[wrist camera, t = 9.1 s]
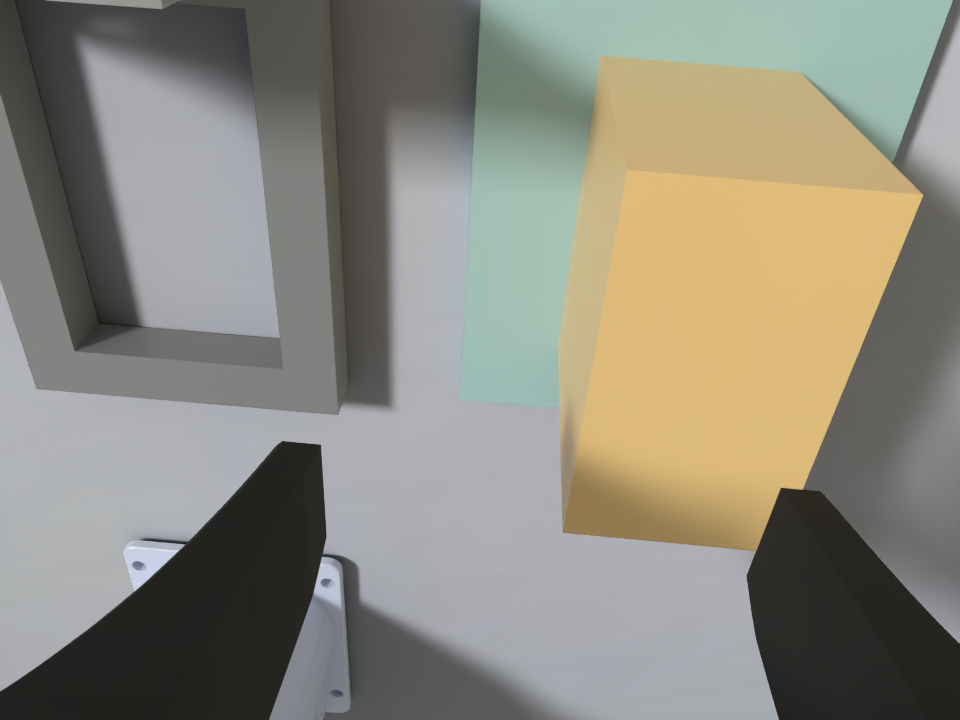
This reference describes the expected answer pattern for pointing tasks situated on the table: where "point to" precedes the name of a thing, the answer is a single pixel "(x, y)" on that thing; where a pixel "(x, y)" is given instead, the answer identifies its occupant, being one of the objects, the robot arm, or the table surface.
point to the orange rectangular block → (714, 296)
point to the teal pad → (566, 123)
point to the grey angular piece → (291, 224)
